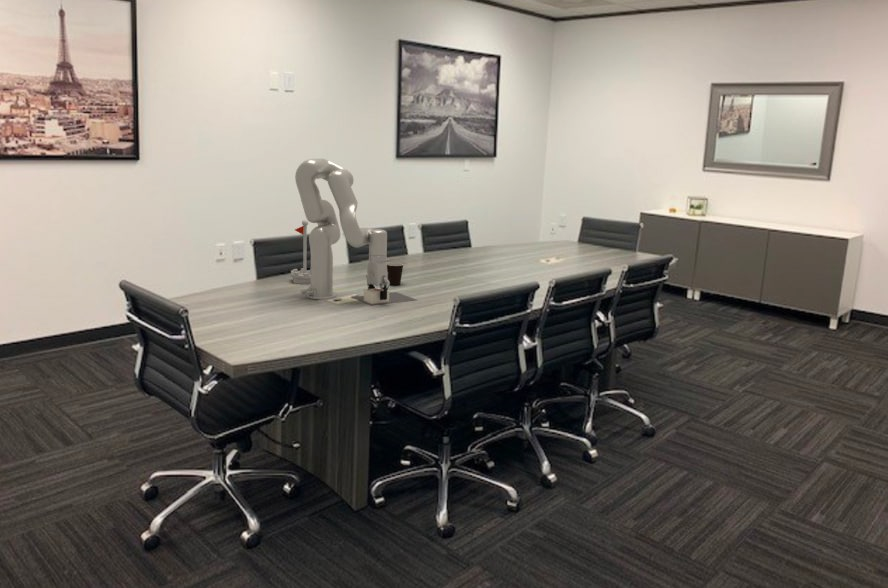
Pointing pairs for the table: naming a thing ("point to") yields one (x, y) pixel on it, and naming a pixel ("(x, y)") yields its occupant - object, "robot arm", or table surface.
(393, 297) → the mat
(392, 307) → the table surface
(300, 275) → the flag stand
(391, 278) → the coffee mug
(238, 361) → the table surface
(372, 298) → the card box
